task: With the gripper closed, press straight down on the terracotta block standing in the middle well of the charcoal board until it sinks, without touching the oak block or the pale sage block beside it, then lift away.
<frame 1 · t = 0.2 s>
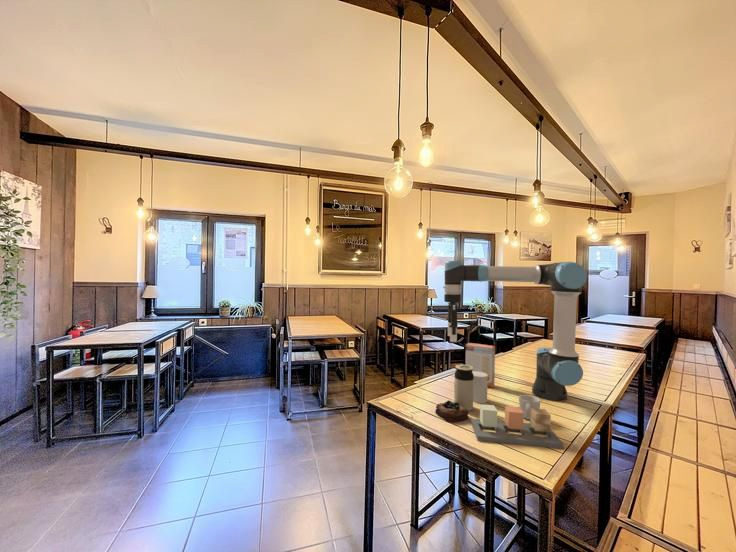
hand: (452, 338, 152), 28 cm above the table, fingers open, 13 cm apart
oak block: (540, 419, 117), point 6 cm above the table, slide at 0.0 cm
white cylindrical canister: (477, 400, 151), on the table
board: (513, 434, 119), on the table
cup 2: (528, 419, 132), on the table
terracotta block: (514, 417, 119), point 6 cm above the table, slide at 0.0 cm
travel mug: (463, 408, 142), on the table
sage block: (488, 415, 120), point 6 cm above the table, slide at 0.0 cm
pastry: (451, 416, 134), on the table
cracker box: (479, 384, 173), on the table
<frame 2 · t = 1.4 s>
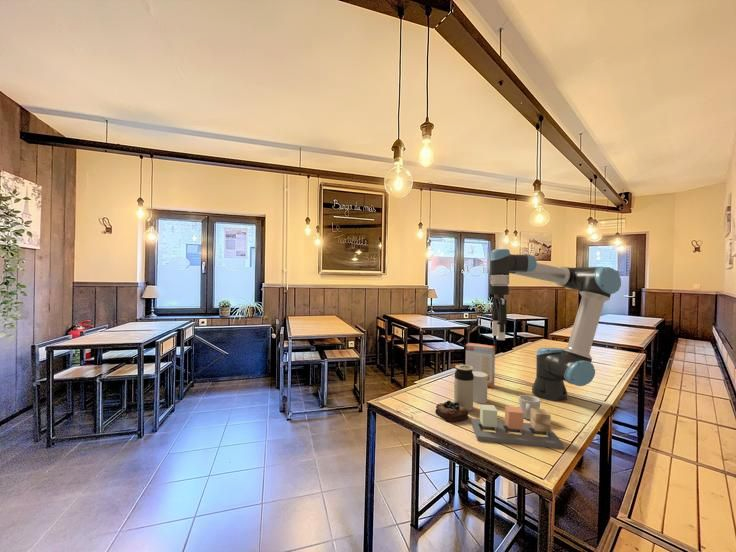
hand: (498, 337, 139), 31 cm above the table, fingers open, 9 cm apart
nothing on the table moved.
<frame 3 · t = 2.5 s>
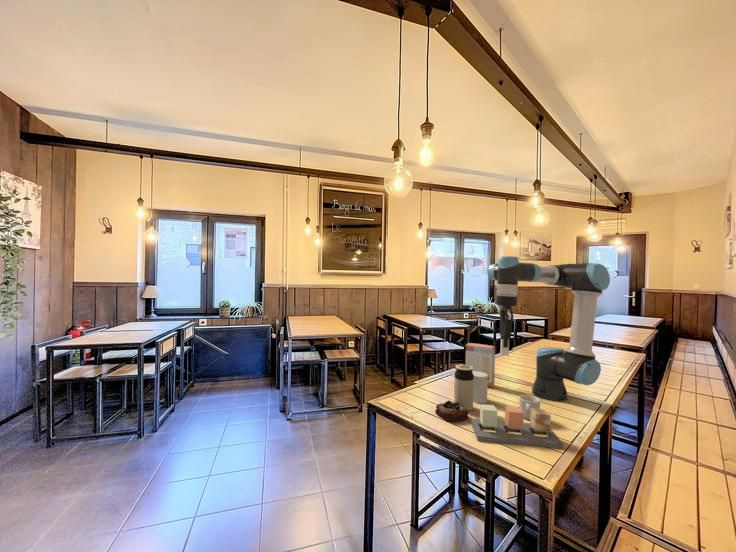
hand: (504, 355, 128), 27 cm above the table, fingers closed
nothing on the table moved.
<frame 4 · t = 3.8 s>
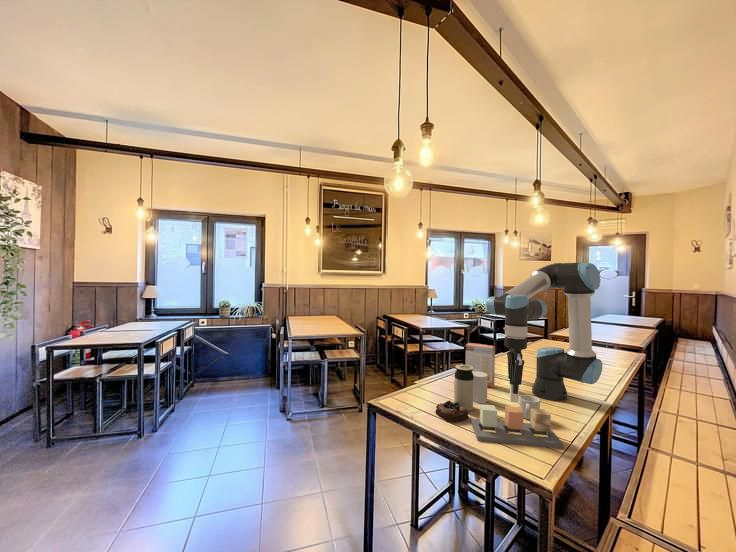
hand: (514, 401, 118), 12 cm above the table, fingers closed
nothing on the table moved.
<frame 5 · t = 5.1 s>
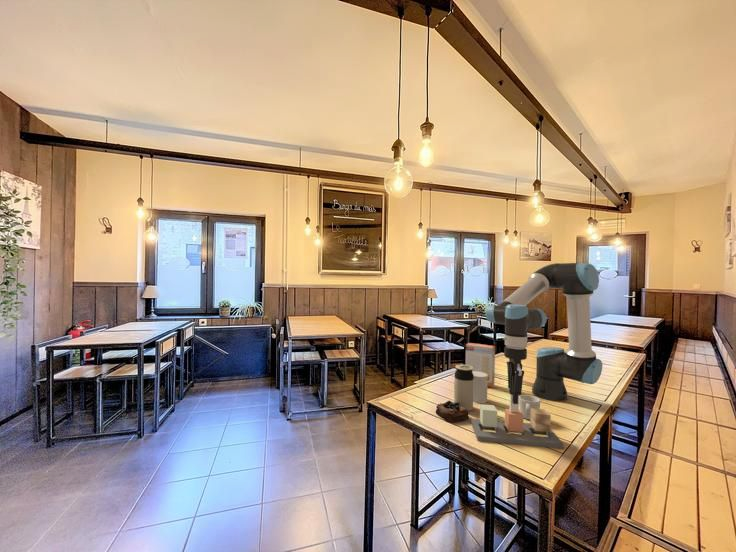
hand: (513, 411, 118), 9 cm above the table, fingers closed
terracotta block: (513, 420, 119), point 5 cm above the table, slide at 0.9 cm, touching gripper
everything else where it was.
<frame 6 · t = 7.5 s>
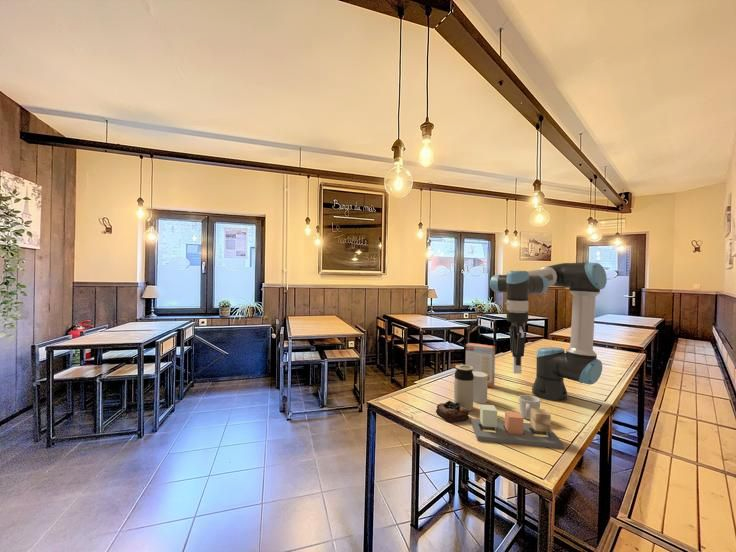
hand: (517, 372, 123), 21 cm above the table, fingers closed
terracotta block: (513, 422, 119), point 4 cm above the table, slide at 1.8 cm
everything else where it was.
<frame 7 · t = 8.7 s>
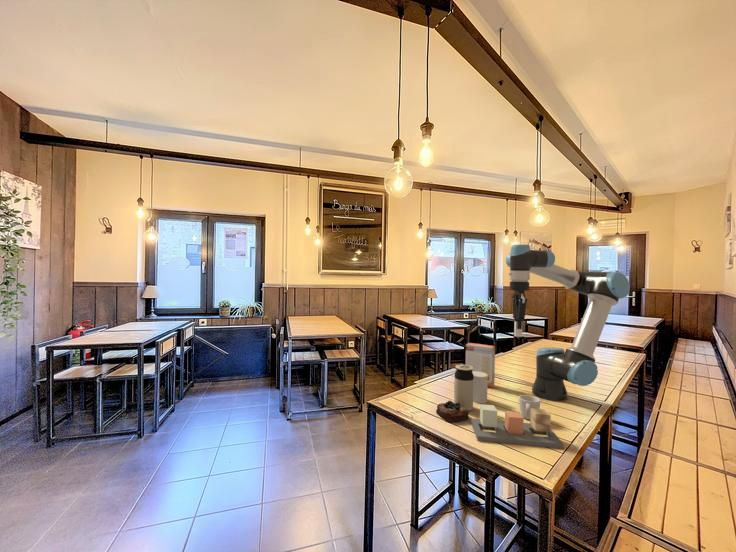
hand: (518, 336, 138), 32 cm above the table, fingers closed
nothing on the table moved.
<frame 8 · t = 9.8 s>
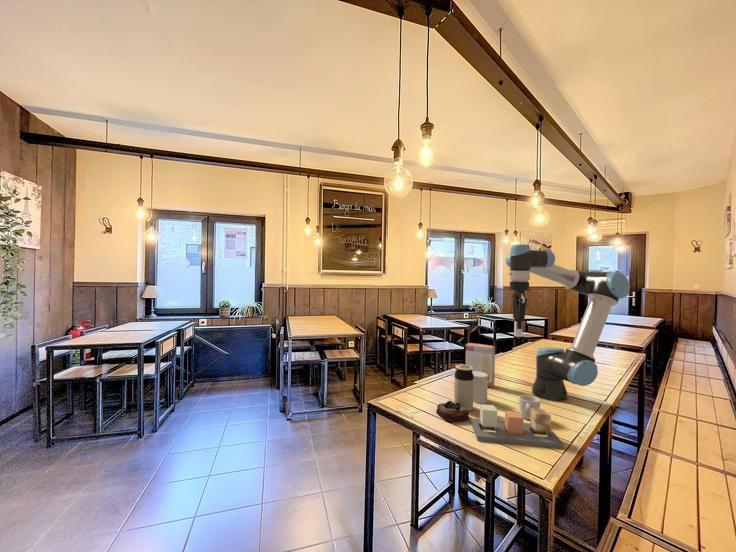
hand: (518, 336, 138), 32 cm above the table, fingers closed
nothing on the table moved.
at the end: terracotta block slide at 1.8 cm; oak block slide at 0.0 cm; sage block slide at 0.0 cm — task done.
